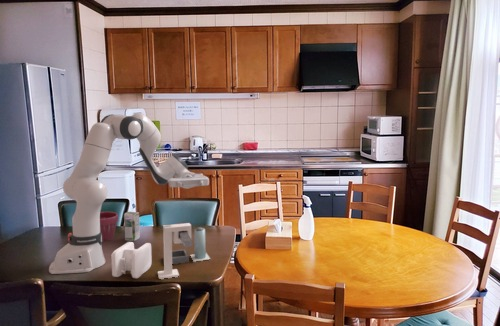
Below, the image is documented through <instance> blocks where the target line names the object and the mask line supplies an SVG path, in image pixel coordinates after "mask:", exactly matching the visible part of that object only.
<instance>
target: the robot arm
mask: <svg viewBox="0 0 500 326" xmlns="http://www.w3.org/2000/svg"><path fill="white" fill-rule="evenodd" d="M161 134H162V133H161V132H160V130H159V128H158V127H157V126H156V125H155V124H154V122H153V121H152V120H151V119H150V118H149V117H147V115H145V114H144V113H142V112H136V113H134V114H132V115H124V114H107V115H105V116H104V117H102V119H101V120H100V122H96V123H94V124H93V125H92V126H91V128H90V129H89V132H88V134H87V136H86V139H85V141H84V145H83V148H82V151H81V152H80V157H79V159H78V161H77V164H76V165H75V167H74V169H73V170H72V172H71V174H70V176H69V177H68V178H66V179H65V180H64V182H63V183H62V184H63V185H62V190H63V193H64V194H65V195H66V196H67V197H68V198H69V199H70V200H73V201H75V202H76V207H75V211H74V214H72V218H71V221H72V223H71V224H72V226H71V227H72V232H69V233H68V234H67V243H66V244H65V245H64V246H63V247H62V248H61V249H59V250H58V251H57V252H56V255H55V256H54V257H55V258H54V261H52V262H51V263H50V264H49V267H48V272H49V273H50V274H52V275H57V274H76V273H77V274H79V273H89V272H91V271H93V270H94V269H98V268H100V267H102V266H103V265H104V264H105V263H106V258H105V255H104V251H103V247H102V243H103V241H102V234H101V231H100V212H102V211H101V210H102V206H103V203H104V201H106V200H107V196H108V188H107V186H105V184H103V182H101V181H99V180H98V177H99V175H100V174H101V172H102V171H103V170H105V169H106V167H107V165H108V161H109V157H110V154H111V150H112V147H113V143H114V141H115V140H116V139H118V140H120V139H121V140H129V141H130V140H131V141H132V140H135V139H137V141H138V142H139V143H138V144H139V148H138V151H139V154H140V156H141V158H142V160H143V161H144V163H145V165H146V166H147V169H148V170H149V172H150V173H151V174H150V175H151V176H152V179H153V180H154V182H155V183H156V184H157V185H158V186H159V185H160V186H165V185H167V184H168V186H169V188H183V189H187V190H188V189H192V188H195V187H201V186H202V187H203V186H204V187H206V186H209V185H210V178H209V177H207V176H206V175H204V174H203V173H200V172H193V171H189V170H188V169H189V166H188V164H187V163H186V162H185V160H184V159H183V158H182V157H180V156H179V155H176V154H173V155H170V156H169V157H168V158H167V159H165V161H163V162H162V163H160V165H158V166H157V165H156V163H155V162H154V160H153V156H154V153H155V152H156V150H157V148H158V147H159V145H160V144H161V141H162V135H161Z"/></svg>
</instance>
